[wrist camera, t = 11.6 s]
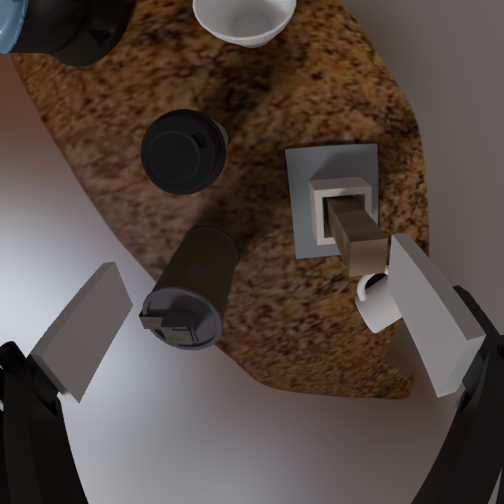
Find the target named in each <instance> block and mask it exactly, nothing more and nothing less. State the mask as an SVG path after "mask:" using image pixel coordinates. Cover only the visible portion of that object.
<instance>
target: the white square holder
mask: <svg viewBox="0 0 504 504" xmlns="http://www.w3.org/2000/svg"><path fill="white" fill-rule="evenodd" d="M309 187H310V200H311V213H312V228H313V233H314V236H315V239H316V243H317V245H325V244H336V242H335V240H334V238H333V235H332V233H331V231H330V229H329V226H328V224H327V222H326V220H325V201H324V197H330V196H343V195H353V196H354V198H355V199H356V200H357V201H358V202H359V203H360V205H361V206H362V207H363V208H364V209H365V211H366V212H367V213H368V214H369V215H370V217H371V218H372V186H371V185H369V184H368V183H367V182H366V181H365V180H363V179H362V178H361V177H349V178H335V179H322V180H310V181H309Z"/></svg>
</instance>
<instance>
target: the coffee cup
mask: <svg viewBox="0 0 504 504" xmlns="http://www.w3.org/2000/svg"><path fill="white" fill-rule="evenodd" d="M227 145H228V135H227V133H226V131H225V129H224V128H223V127H222V125H220V124H219V123H218V122H216V121H214V120H212V119H210V118H209V117H208V116H206V115H204V114H203V113H200V112H198V111H195V110H190V109H179V110H174V111H170V112H168V113H166V114H164V115H162V116H160V117H159V118H158V119H156V120H155V121H154V122H153V123H152V124H151V125H150V126H149V128H148V129H147V131H146V133H145V135H144V137H143V140H142V144H141V161H142V165H143V168H144V171H145V172H146V174H147V176H148V177H149V179H150V180H151V181H152V182H153V183H154V184H155V185H156V186H157V187H159V188H160V189H162V190H164V191H166V192H168V193H171V194H176V195H189V194H193V193H196V192H199V191H202V190H203V189H205V188H207V187H208V186H210V185H211V184H212V183H213V182H214V181H215V180H216V179H217V177H218V176H219V175H220V173H221V171H222V169H223V166H224V163H225V158H226V150H227Z"/></svg>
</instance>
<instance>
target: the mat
mask: <svg viewBox="0 0 504 504" xmlns="http://www.w3.org/2000/svg"><path fill="white" fill-rule="evenodd" d="M285 154H286V163H287V171H288V180H289V189H290V199H291V208H292V219H293V229H294V240H295V252H296V259H301V258H311V257H321V256H331V255H341V254H340V252H339V249H338V247H337V245H336V244H325V245H317V243H316V239H315V236H314V233H313V228H312V213H311V200H310V187H309V181H310V180H322V179H335V178H349V177H361V178H362V179H363V180H365V181H366V182H367V183H368V184H369V185H371V186H372V219H373V220H374V221H375V223H376V224H377V225H378V152H377V144H376V143H372V144H343V145H325V146H311V147H299V148H288V149H285Z"/></svg>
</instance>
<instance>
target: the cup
mask: <svg viewBox="0 0 504 504" xmlns="http://www.w3.org/2000/svg"><path fill="white" fill-rule="evenodd" d="M295 7H296V0H193V10H194V13H195V16H196V18H197V20H198V21H199V22H200V24H201V25H202V26H203V27H204V28H206V29H207V30H208V31H209V32H211V33H212V34H213V35H215V36H216V37H218V38H220V39H223V40H225V41H227V42H230V43H234V44H239V45H241V46H244V47H247V48H257V47H261V46H263V45H265V44H266V43H268V42H269V41H270V39H272V38H273V37H275V36H276V35H277V34H278V33H280V32H281V31H282V30H283V29H284V28H285V26H286V25H287V24H288V22H289V21H290V19H291V17H292V15H293V13H294V10H295Z"/></svg>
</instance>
